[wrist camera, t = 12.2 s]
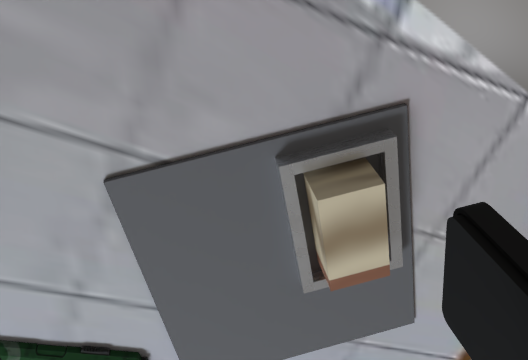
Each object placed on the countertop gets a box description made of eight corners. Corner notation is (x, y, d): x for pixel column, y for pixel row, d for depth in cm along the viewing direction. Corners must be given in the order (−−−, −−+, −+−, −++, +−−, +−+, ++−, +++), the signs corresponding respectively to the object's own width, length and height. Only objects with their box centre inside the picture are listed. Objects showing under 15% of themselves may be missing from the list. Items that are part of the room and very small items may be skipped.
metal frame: (299, 281, 44) (303, 293, 43) (274, 157, 38) (278, 167, 36) (396, 255, 45) (403, 266, 44) (388, 128, 38) (396, 136, 37)
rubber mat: (190, 382, 49) (190, 385, 49) (104, 180, 36) (103, 182, 36) (412, 319, 50) (414, 322, 50) (404, 103, 38) (407, 105, 37)
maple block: (303, 173, 39) (317, 200, 35) (365, 157, 39) (384, 183, 36) (317, 259, 43) (330, 291, 40) (372, 245, 44) (390, 275, 40)
